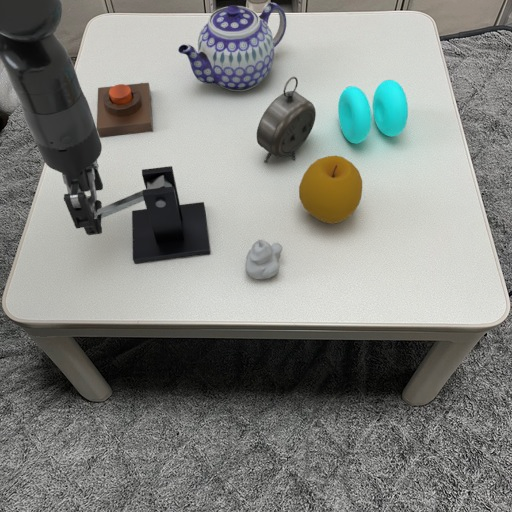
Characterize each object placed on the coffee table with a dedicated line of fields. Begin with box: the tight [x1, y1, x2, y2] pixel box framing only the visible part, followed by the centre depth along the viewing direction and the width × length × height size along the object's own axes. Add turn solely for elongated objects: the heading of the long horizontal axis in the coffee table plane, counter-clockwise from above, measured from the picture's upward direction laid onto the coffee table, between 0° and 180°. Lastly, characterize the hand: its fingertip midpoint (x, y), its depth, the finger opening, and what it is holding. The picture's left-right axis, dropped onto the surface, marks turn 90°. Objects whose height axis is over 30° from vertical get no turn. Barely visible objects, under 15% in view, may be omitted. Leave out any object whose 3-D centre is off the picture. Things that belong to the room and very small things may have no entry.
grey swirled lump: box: [245, 239, 283, 280], centre depth 77 cm, size 5×7×8 cm
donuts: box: [337, 79, 409, 144], centre depth 93 cm, size 10×10×10 cm
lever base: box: [131, 165, 211, 265], centre depth 79 cm, size 12×10×13 cm
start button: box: [109, 83, 132, 105], centre depth 97 cm, size 4×4×2 cm
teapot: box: [177, 2, 287, 92], centre depth 101 cm, size 25×15×15 cm, turn 125°
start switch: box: [96, 82, 154, 138], centre depth 99 cm, size 10×12×4 cm
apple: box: [298, 155, 363, 224], centre depth 81 cm, size 10×10×12 cm
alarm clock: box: [256, 76, 317, 164], centre depth 87 cm, size 11×5×16 cm, turn 135°
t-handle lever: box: [94, 175, 172, 225], centre depth 76 cm, size 13×5×2 cm, turn 99°
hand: (95, 210), depth 77 cm, fingers open, 8 cm apart
